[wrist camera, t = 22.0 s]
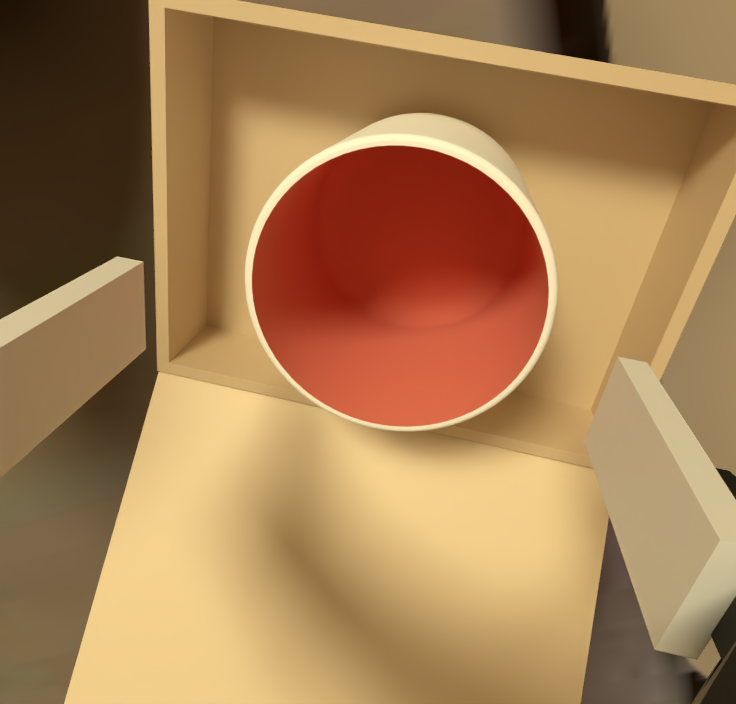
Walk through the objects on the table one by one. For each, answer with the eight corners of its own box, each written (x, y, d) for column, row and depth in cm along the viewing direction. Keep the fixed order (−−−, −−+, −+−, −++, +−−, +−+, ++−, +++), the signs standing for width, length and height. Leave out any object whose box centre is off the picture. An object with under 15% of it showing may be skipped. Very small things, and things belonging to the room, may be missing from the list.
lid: (158, 371, 28) (163, 372, 28) (60, 718, 25) (67, 712, 26) (615, 473, 26) (610, 473, 27) (557, 856, 24) (553, 846, 24)
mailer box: (200, 329, 32) (157, 370, 28) (206, 0, 25) (148, -15, 20) (598, 415, 30) (619, 474, 26) (732, 89, 23) (794, 94, 19)
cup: (521, 324, 28) (543, 441, 19) (325, 320, 30) (263, 426, 21) (538, 105, 24) (577, 127, 15) (307, 114, 25) (220, 139, 17)
